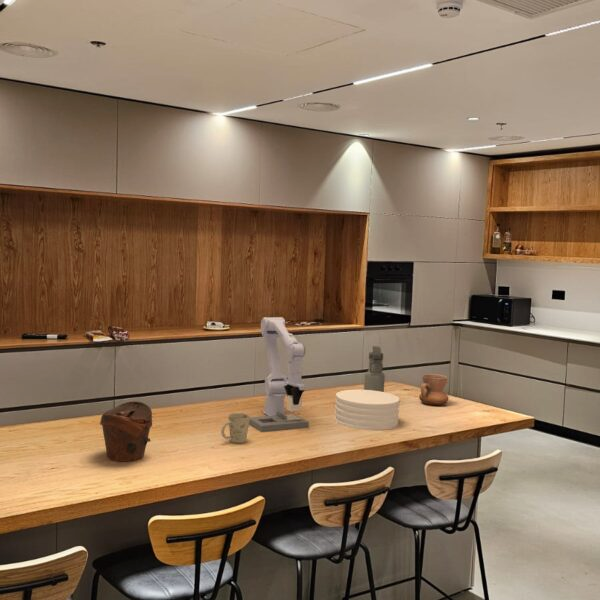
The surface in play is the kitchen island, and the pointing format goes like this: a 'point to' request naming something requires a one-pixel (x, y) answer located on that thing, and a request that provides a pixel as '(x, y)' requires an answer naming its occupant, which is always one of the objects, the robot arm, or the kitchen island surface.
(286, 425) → the socket
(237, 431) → the mug
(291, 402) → the plug
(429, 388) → the ceramic jug
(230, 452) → the kitchen island surface
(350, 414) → the plate stack
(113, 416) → the brown rounded container
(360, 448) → the kitchen island surface
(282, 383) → the robot arm
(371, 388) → the grey stone figurine
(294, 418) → the block
